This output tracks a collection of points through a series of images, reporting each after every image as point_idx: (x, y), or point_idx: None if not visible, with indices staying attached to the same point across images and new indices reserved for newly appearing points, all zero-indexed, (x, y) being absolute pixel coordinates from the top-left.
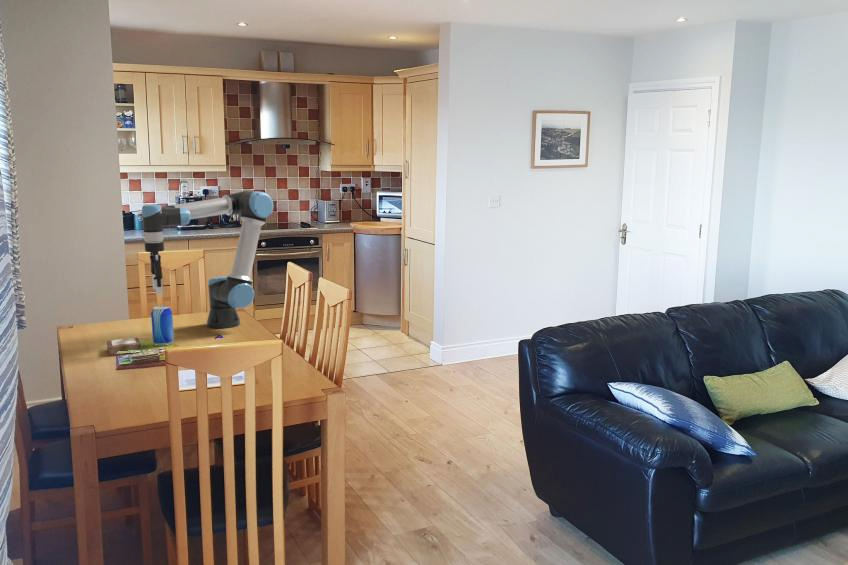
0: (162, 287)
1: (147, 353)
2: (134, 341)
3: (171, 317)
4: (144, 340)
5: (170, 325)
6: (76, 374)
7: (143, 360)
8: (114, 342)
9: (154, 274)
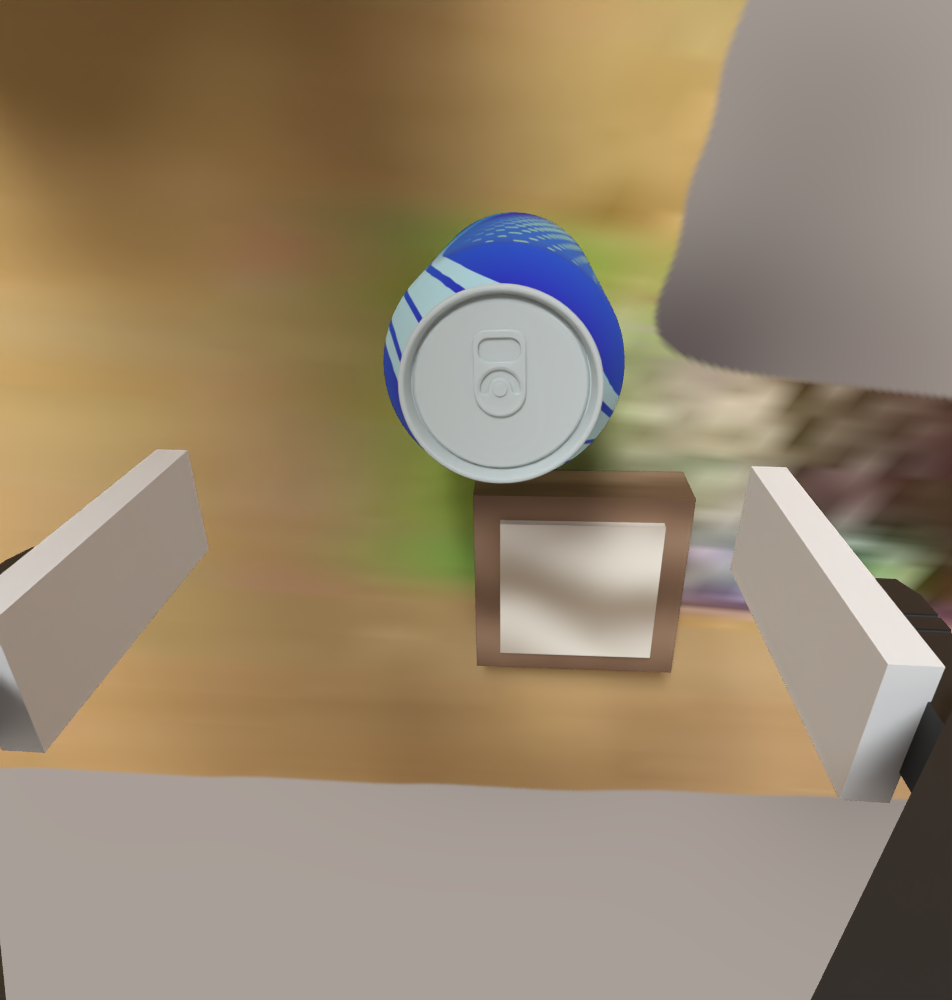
0: (834, 537)
1: (738, 439)
2: (624, 534)
3: (566, 253)
4: (333, 415)
5: (586, 262)
6: None
7: (914, 482)
8: (576, 641)
9: (27, 705)
